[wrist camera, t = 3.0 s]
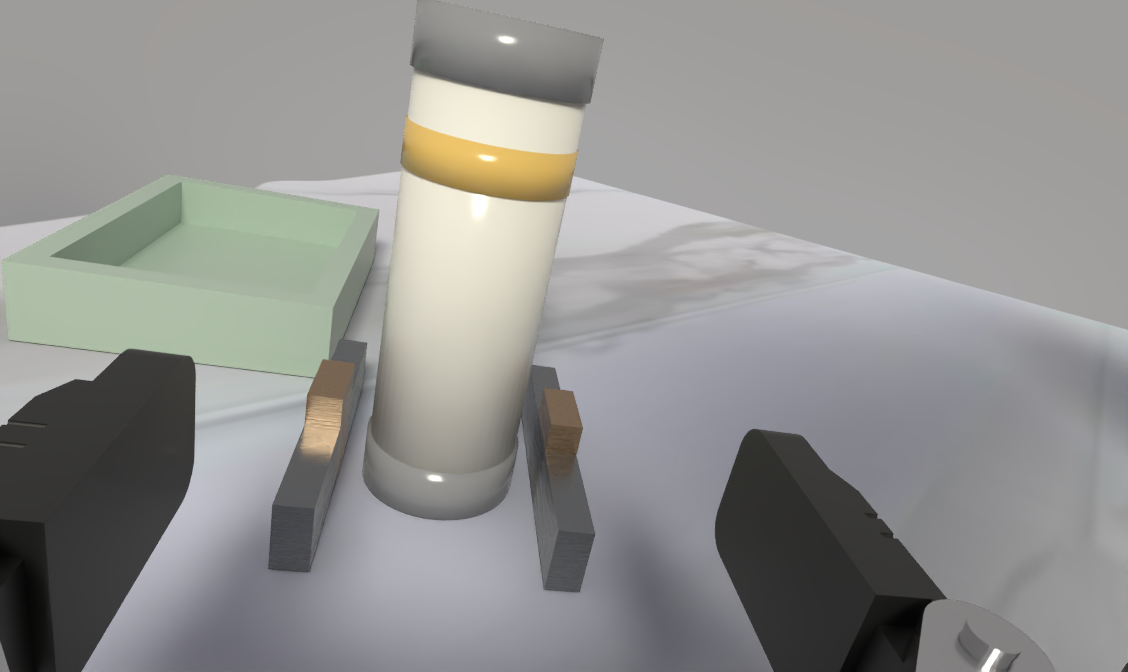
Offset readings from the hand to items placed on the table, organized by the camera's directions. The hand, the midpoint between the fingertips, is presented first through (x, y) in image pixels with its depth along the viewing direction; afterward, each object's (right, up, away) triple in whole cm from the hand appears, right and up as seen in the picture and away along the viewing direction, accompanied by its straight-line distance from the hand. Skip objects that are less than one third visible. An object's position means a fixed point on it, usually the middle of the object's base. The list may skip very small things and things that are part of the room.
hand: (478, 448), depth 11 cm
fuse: (-3, -3, +13) cm, 14 cm away
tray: (-14, +4, +23) cm, 27 cm away
